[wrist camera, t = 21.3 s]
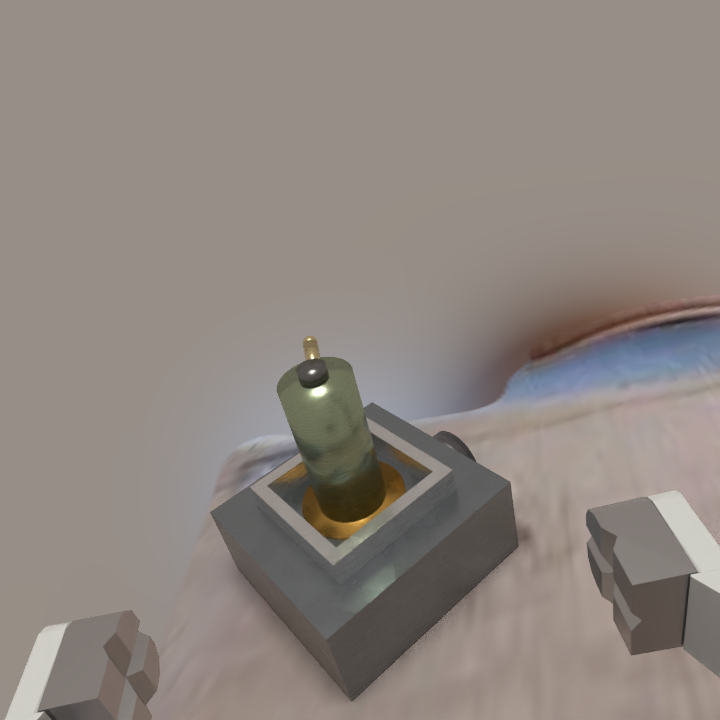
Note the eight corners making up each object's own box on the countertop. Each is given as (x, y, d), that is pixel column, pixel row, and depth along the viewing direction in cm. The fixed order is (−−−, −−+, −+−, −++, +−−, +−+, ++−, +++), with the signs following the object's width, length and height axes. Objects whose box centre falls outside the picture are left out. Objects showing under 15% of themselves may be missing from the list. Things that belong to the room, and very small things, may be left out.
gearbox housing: (402, 447, 62) (384, 373, 58) (534, 530, 51) (526, 446, 46) (238, 569, 54) (201, 494, 49) (351, 701, 43) (317, 620, 38)
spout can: (389, 514, 46) (349, 373, 39) (319, 529, 46) (267, 391, 40) (381, 457, 51) (344, 324, 44) (318, 471, 51) (272, 341, 45)
